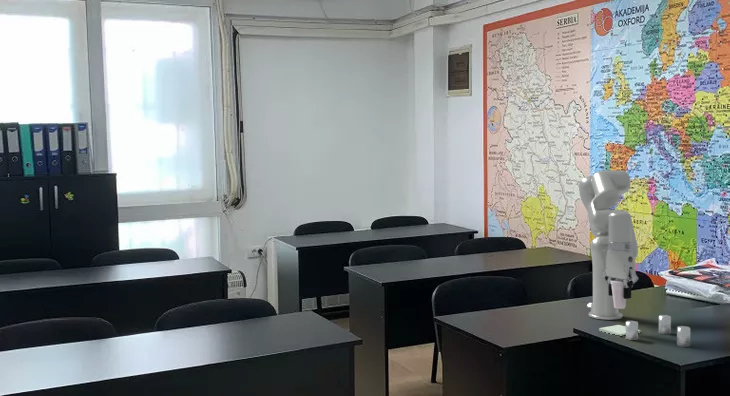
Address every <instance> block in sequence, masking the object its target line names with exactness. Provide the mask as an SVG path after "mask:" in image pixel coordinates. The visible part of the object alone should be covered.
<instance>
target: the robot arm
mask: <svg viewBox="0 0 730 396" xmlns="http://www.w3.org/2000/svg"><path fill="white" fill-rule="evenodd" d="M630 188H631V176H630V175H629V174H628V172H627V171H625V170H621V169H620V170H616V169H615V170H600V171H599V170H598V171H596V172H595V173H593V174H592V175H588V176H585V177H582V178H581V179H580V181H579V184H578V192H579V196H580V200H581V202H582V205H583V206H584V208H585V210H586V211H587V212H586V213H587V216H588V222H589V227H590V231H591V235H592V236H593V239H592V240H591V241H590V245H589V246H590V247H589V248H590V255H591V262H592V302H589V303H588V304H587V305H586V308H587V309H590V311H589V312H588V317H590V318H593V319H597V320H604V321H605V320H607V321H608V320H609V321H612V320H621V319H622V318H623V316H624V315H623V313H621V312H619V309H617V308H614V301H613V294H612V286H611V284H610V281H611V280H620V279H622V280H623V282H624V285H625V287H624V299H626V300H627V299H631V298H632V288H633V286H634V285H635V284H636V282H637V281H638V280H639V277H638V275H637V273H636V262H635V260H636V259H637V257H638V254H639V247H638V241H637V237H636V234H635V229H634V224H633V221H632V216H631V214H630V212H629V211H627V210H622V209H621V210H619V209H616V210H615V209H611V208H612V207H614V206H615V205H616V204H617V203H618V202H619V200H620V196H622V195H624V194H626V193H627V192H629V190H630ZM610 209H611V210H610ZM627 281H628V283H627Z"/></svg>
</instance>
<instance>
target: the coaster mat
mask: <svg viewBox="0 0 730 396" xmlns="http://www.w3.org/2000/svg"><path fill="white" fill-rule="evenodd" d="M601 331H602V332H601ZM598 332H601V333H604V332H606V333H605V334H608V333H610V334H609V335H612V334H615V335H620V336H622V335H626V325H621V324H615V325H611V326H604V327H599V328H598ZM640 332H642V331H641V329H638V333H639V334H641V333H640ZM615 335H614V336H615Z"/></svg>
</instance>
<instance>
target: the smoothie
mask: <svg viewBox="0 0 730 396" xmlns="http://www.w3.org/2000/svg"><path fill="white" fill-rule="evenodd" d="M627 283H628V281H627ZM610 284H611V286H612V294H613V301H614V308H617V309H618V310H624V309H626V304H627V299H624V287H625V285H624V282H623V280H622V279H618V280H611V281H610Z"/></svg>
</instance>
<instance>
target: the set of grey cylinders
mask: <svg viewBox="0 0 730 396" xmlns="http://www.w3.org/2000/svg"><path fill="white" fill-rule="evenodd" d="M625 326H626V336H625V340H626V339H629V340H637V339H638V340H639V334H638V330H639V322H638V321H635V320H626V321H625ZM658 334H661V335H671V334H672V316H671V315H668V314H659V315H658ZM629 340H628V341H629ZM638 340H637V341H638ZM676 345H677V346H678V347H681V348H689V347H691V327H690V326H685V325H679V326H676Z"/></svg>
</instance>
